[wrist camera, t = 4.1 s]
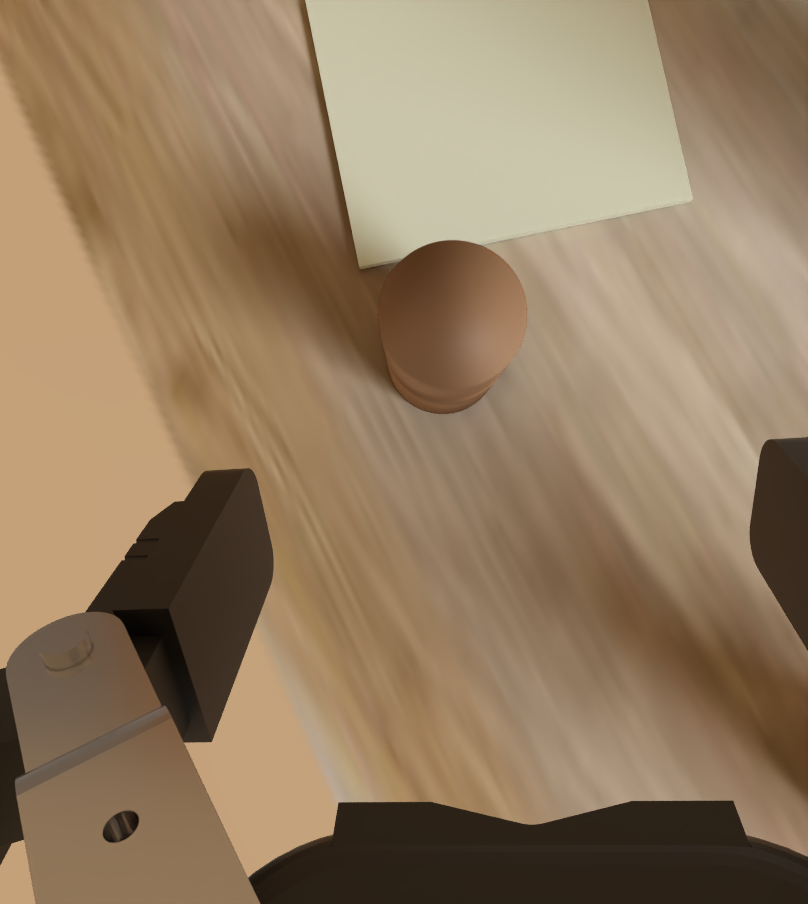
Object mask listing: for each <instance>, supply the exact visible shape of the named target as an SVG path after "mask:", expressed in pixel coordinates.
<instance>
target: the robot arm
mask: <svg viewBox="0 0 808 904" xmlns="http://www.w3.org/2000/svg"><path fill="white" fill-rule="evenodd" d="M136 540H137V542H136V544H133V545H132V547H131V548H130V549H129V551H128V552H127V554H126V555H125V560H124V561H123V560H122V561H121V562H120V564H119V565H118V566H117V568H116V569H115V571H114V572H113V574H112V575H111V576H110V578H109V579H108V581H107V582H106V584H105V585H104V586H103V588H102V589H101V591H100V592H99V593H98V595H97V596H96V598H95V599H94V601H93V602H92V603H91V605H90V606H89V608H88V609H87V610H86V612H85V613H80V614H75V615H71V616H67V617H65V618H61V619H59V620H56V621H54V622H52V623H50V624H48V625H46V626H44V627H42V628H41V629H39V630H37V631H36V632H34V633H33V634H32V635H30V636H29V637H28V638H26V639H25V640H24V641H23V642H22V643H21V644H20V645H19V646H18V647H17V648H16V649H15V651H14V652H13V653H12V655H11V656H10V658H9V661H8V662H7V666H6V668H3V669H0V865H1V863H2V861H3V859H4V857H5V855H6V853H7V851H8V849H9V848H10V846H11V844H12V843H14V842H18V841H21V840H24V841H25V846H26V852H27V858H28V863H29V869H30V874H31V880H32V886H33V891H34V896H35V902H36V904H808V857H807V856H804V855H802V854H800V853H798V852H795V851H793V850H791V849H789V848H786V847H783V846H780V845H777V844H774V843H771V842H768V841H765V840H762V839H759V838H755V837H751V836H747V835H746V834H745V831H744V828H743V826H742V823H741V820H740V818H739V815H738V813H737V810H736V807H735V805H734V802H733V801H630V802H627V803H623V804H619V805H615V806H611V807H607V808H603V809H599V810H595V811H591V812H587V813H583V814H579V815H575V816H571V817H567V818H563V819H559V820H555V821H551V822H547V823H543V824H537V825H527V824H521V823H517V822H512V821H508V820H504V819H500V818H496V817H492V816H487V815H483V814H479V813H475V812H471V811H466V810H462V809H458V808H454V807H450V806H445V805H441V804H437V803H433V802H344V803H339V804H338V810H337V815H336V821H335V827H334V834H333V835H331V836H326V837H323V838H319V839H317V840H314V841H311V842H309V843H306V844H304V845H301V846H299V847H296V848H294V849H293V850H291V851H289V852H287V853H285V854H283V855H281V856H279V857H277V858H275V859H274V860H272V861H271V862H269V863H268V864H266V865H265V866H263V867H262V868H260V869H259V870H257V871H256V872H255V873H253V874H252V875H251V876H250V877H247V875H246V873H245V871H244V869H243V866H242V864H241V862H240V860H239V858H238V856H237V854H236V852H235V850H234V847H233V845H232V843H231V841H230V839H229V837H228V835H227V833H226V831H225V828H224V827H223V824H222V822H221V820H220V818H219V816H218V814H217V812H216V810H215V808H214V805H213V803H212V801H211V799H210V797H209V795H208V793H207V791H206V788H205V786H204V784H203V782H202V780H201V778H200V776H199V774H198V772H197V769H196V768H195V765H194V763H193V761H192V759H191V757H190V755H189V753H188V750H187V749H186V746H185V744H184V742H212V740H213V737H214V734H215V732H216V729H217V726H218V724H219V721H220V719H221V716H222V713H223V711H224V708H225V705H226V703H227V700H228V697H229V695H230V692H231V689H232V687H233V684H234V681H235V678H236V676H237V673H238V670H239V668H240V665H241V662H242V660H243V657H244V655H245V652H246V649H247V647H248V644H249V641H250V639H251V636H252V633H253V630H254V628H255V625H256V623H257V620H258V617H259V615H260V612H261V609H262V607H263V604H264V601H265V599H266V596H267V593H268V591H269V588H270V585H271V582H272V577H273V549H272V544H271V540H270V535H269V531H268V526H267V522H266V518H265V513H264V509H263V504H262V500H261V495H260V491H259V487H258V482H257V479H256V476H255V474H254V472H253V471H252V470H251V469H249V468H247V469H229V470H212V471H205V472H203V473H202V474H201V476H200V477H199V479H198V481H197V482H196V484H195V485H194V487H193V488H192V490H191V491H190V493H189V494H188V496H187V497H186V499H185V501H181V502H180V501H179V502H174V503H172V504H171V505H170V506H168V507H167V508H165V509H164V510H163V511H161V512H160V513H159V514H157V515H156V516H155V517H153V518H152V519H151V520H150V521H149V522H148V524H147V525H146V527H145V528H144V529H143V531H142V532H141V534H140V535H139V537H138V538H137V539H136ZM750 544H751V550H752V555H753V558H754V561H755V563H756V566H757V568H758V569H759V571H760V573H761V574H762V576H763V578H764V579H765V581H766V583H767V584H768V586H769V587H770V589H771V591H772V592H773V594H774V596H775V597H776V599H777V601H778V602H779V604H780V606H781V607H782V609H783V611H784V612H785V614H786V616H787V617H788V619H789V620H790V622H791V624H792V625H793V627H794V629H795V630H796V632H797V634H798V635H799V637H800V639H801V640H802V642H803V644H804V645H805V647H806V649H807V650H808V437H804V438H787V439H770V440H767V441H766V442H765V443H764V445H763V447H762V450H761V454H760V459H759V466H758V473H757V480H756V488H755V495H754V502H753V509H752V516H751V523H750Z"/></svg>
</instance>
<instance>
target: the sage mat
mask: <svg viewBox="0 0 808 904" xmlns="http://www.w3.org/2000/svg"><path fill="white" fill-rule="evenodd" d="M305 2H306V7H307V12H308V17H309V22H310V26H311V31H312V36H313V41H314V46H315V51H316V56H317V61H318V66H319V71H320V76H321V81H322V86H323V91H324V96H325V101H326V106H327V111H328V116H329V121H330V125H331V130H332V135H333V140H334V145H335V150H336V155H337V160H338V165H339V170H340V175H341V180H342V185H343V190H344V195H345V200H346V205H347V210H348V215H349V219H350V224H351V229H352V234H353V239H354V244H355V249H356V254H357V259H358V264H359V269H365V268H370V267H375V266H380V265H385V264H390V263H395V262H400V261H401V260H402V259H403V258H404V257H406V256H407V255H408V254H410V253H411V252H413V251H414V250H416V249H418V248H420V247H422V246H425V245H427V244H430V243H434V242H438V241H445V240H460V241H468V242H471V243H475V244H478V245H483V244H488V243H492V242H497V241H502V240H507V239H512V238H517V237H522V236H527V235H532V234H536V233H541V232H546V231H551V230H556V229H561V228H566V227H571V226H576V225H580V224H585V223H590V222H595V221H600V220H605V219H610V218H615V217H620V216H624V215H629V214H634V213H639V212H644V211H649V210H654V209H659V208H664V207H668V206H673V205H678V204H683V203H688V202H690V201H691V200H692V199H693V197H692V193H691V188H690V184H689V179H688V175H687V171H686V166H685V162H684V157H683V153H682V149H681V144H680V140H679V135H678V131H677V126H676V122H675V118H674V113H673V109H672V104H671V100H670V96H669V91H668V87H667V82H666V78H665V74H664V69H663V65H662V60H661V56H660V51H659V47H658V43H657V38H656V34H655V29H654V25H653V21H652V16H651V12H650V7H649V3H648V0H305Z"/></svg>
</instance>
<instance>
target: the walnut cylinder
mask: <svg viewBox="0 0 808 904" xmlns="http://www.w3.org/2000/svg"><path fill="white" fill-rule="evenodd" d="M378 324H379V330H380V334H381V339H382V343H383V347H384V352H385V356H386V360H387V365H388V369H389V373H390V377H391V379H392V382H393V384H394V386H395V387H396V389H397V391H398V392H399V393H400V394H401V396H402V397H403V398H404V399H405V400H406V401H408V402H409V403H410V404H412V405H413V406H415V407H417V408H419V409H421V410H424V411H426V412H430V413H436V414H449V413H455V412H459V411H462V410H464V409H467V408H468V407H470V406H472V405H474V404H475V403H476V402H477V401H479V400H480V399H481V398H482V397H483V396H484V395H485V393H486V392H487V391H488V390H489V388H490V387H491V386H492V384H493V383H494V382H495V380H496V379H497V378H498V377H499V375H500V374H501V373H502V371H503V370H504V369H505V367H506V366H507V365H508V364H509V362H510V361H511V360H512V358H513V357H514V356H515V354H516V353H517V351H518V349H519V347H520V345H521V343H522V340H523V338H524V335H525V331H526V326H527V303H526V297H525V294H524V290H523V288H522V285H521V283H520V281H519V279H518V277H517V276H516V274H515V272H514V271H513V270H512V268H511V267H510V266H509V265H508V264H507V263H506V262H505V261H504V260H503V259H502V258H501V257H500V256H498V255H497V254H496V253H494V252H493V251H491V250H489V249H487V248H486V247H483V246H481V245H478V244H475V243H471V242H468V241H460V240H445V241H438V242H434V243H430V244H427V245H425V246H422V247H420V248H418V249H416V250H414V251H413V252H411V253H410V254H408V255H407V256H406V257H404V258H403V259H402V260H401V261H400V262H399V263H398V264H397V265H396V266H395V268H394V269H393V270H392V271H391V273H390V274H389V276H388V278H387V280H386V281H385V284H384V286H383V288H382V291H381V295H380V298H379V305H378Z"/></svg>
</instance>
